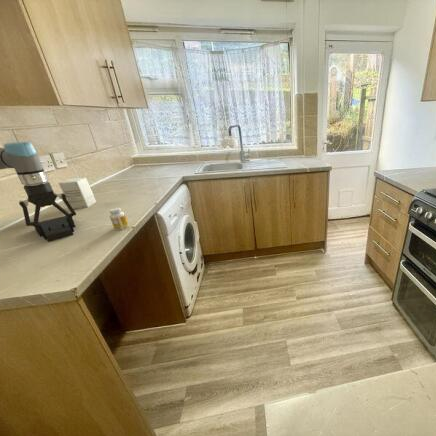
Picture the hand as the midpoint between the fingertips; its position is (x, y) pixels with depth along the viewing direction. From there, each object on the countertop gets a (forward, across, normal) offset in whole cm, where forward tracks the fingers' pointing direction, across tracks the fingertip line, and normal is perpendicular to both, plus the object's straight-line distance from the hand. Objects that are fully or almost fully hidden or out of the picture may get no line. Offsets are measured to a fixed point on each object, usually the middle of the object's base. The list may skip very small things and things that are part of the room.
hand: (59, 235), depth 104 cm
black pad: (0, 0, 0) cm, 0 cm away
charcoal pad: (0, 0, +9) cm, 9 cm away
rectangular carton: (0, +14, +39) cm, 42 cm away
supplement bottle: (0, +20, -14) cm, 24 cm away
